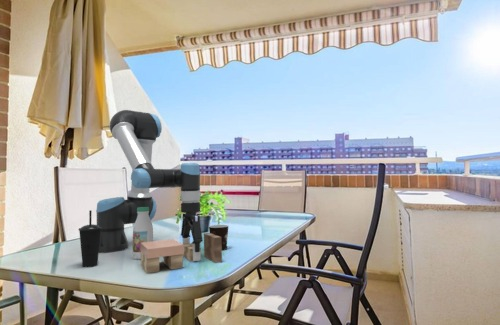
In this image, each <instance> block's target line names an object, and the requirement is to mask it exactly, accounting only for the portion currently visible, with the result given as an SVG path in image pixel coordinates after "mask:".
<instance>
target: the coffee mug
mask: <svg viewBox="0 0 500 325" xmlns="http://www.w3.org/2000/svg"><path fill="white" fill-rule="evenodd" d="M208 229H209V230H208V231H209V232H208V233H211V234H214V235H217V236H220V237H221V241H222V251H225V250H227V248H228V246H227V245H228V234H229V225H228V224H214V225H209V226H208Z"/></svg>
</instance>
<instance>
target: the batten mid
mask: <svg viewBox="0 0 500 325" xmlns="http://www.w3.org/2000/svg"><path fill="white" fill-rule="evenodd" d="M183 260H184V257H183V254H179V255H172V256H164V257H163V264H164V265H166V266H167V267H168V268H169V269H170V270H177V269H183V268H184V263H183V262H184V261H183Z"/></svg>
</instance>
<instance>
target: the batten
mask: <svg viewBox="0 0 500 325" xmlns="http://www.w3.org/2000/svg"><path fill="white" fill-rule="evenodd" d="M182 244H183V243H182ZM183 245H184V254H183V258H184V257H185V259H186V260H187V261H189V262H192V263H193V262H194V261H193V244H192V242H190V244H183ZM200 259H201V260H202V247H200Z"/></svg>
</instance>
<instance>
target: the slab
mask: <svg viewBox="0 0 500 325" xmlns="http://www.w3.org/2000/svg"><path fill="white" fill-rule="evenodd" d="M140 251H141V252H142V253H143V254H144V255H145V256H146V257H147V259H149V258H157V257H159V258H162V257H163V258H164V256H172V255H179V254H184V245H183V243H181V242H179V241H178V240H176V239H174V238H171V239H170V238H169V239H160V240H153V241H151V242H141V243H140Z"/></svg>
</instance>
